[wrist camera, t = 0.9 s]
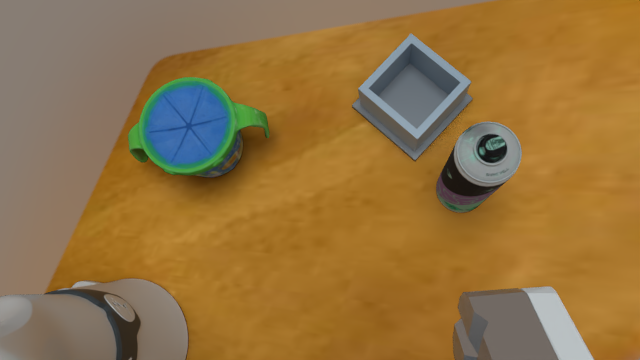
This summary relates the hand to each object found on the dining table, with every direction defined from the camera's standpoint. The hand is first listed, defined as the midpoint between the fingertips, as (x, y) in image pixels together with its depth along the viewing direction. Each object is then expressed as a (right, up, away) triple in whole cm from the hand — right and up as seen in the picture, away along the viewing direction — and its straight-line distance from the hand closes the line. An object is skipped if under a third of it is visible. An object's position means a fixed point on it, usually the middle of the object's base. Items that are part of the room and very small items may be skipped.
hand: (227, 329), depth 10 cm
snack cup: (-11, +6, +58) cm, 60 cm away
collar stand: (+13, +12, +56) cm, 59 cm away
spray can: (+18, +1, +54) cm, 57 cm away
